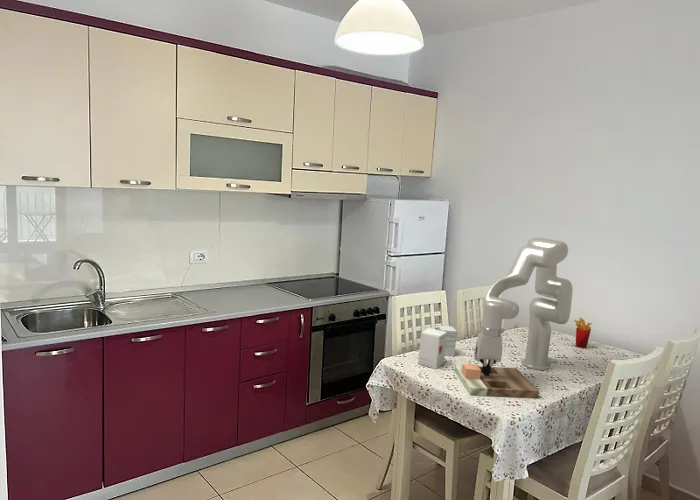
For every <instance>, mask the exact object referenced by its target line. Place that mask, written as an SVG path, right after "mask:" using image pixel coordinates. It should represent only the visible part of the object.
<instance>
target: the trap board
mask: <svg viewBox="0 0 700 500" xmlns="http://www.w3.org/2000/svg"><path fill="white" fill-rule="evenodd" d="M462 365H463V364H462ZM462 365H459V364H454V374H455V375H456V376H457V378H458V379H459V381H460V383H462V385H463V387H464V388H465V390H466V391H467V393H468V394H469V396H479V397H500V398H502V397H503V398H520V399H521V398H522V399H524V398H525V399H539V395H540V390H539V389H537V387H536V386H535V385H534V384H533V382H531V381H530V380H529V379H528V378H527V377H526V376H525V375H524V374H523V373H522V372H521V371H520V370H519V369H518V368H517V367H503V366H502V367H501V366H500V367H499V366H498V367H497V366H492V367H491V373H490V374H489V376H485V375H484V374H483V373H482V368H483V365H482V366H479V365H478V367H479V368H480V369H481V375H480V379H465V377H464V376H463V374H462Z"/></svg>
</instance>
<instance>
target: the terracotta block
mask: <svg viewBox="0 0 700 500" xmlns="http://www.w3.org/2000/svg"><path fill="white" fill-rule="evenodd" d="M478 366H479V365H478V364H475V363H474V364H471V363H462V374H463V376H464V377H465V379H480V375H481V369H480V368H479V367H478Z"/></svg>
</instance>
